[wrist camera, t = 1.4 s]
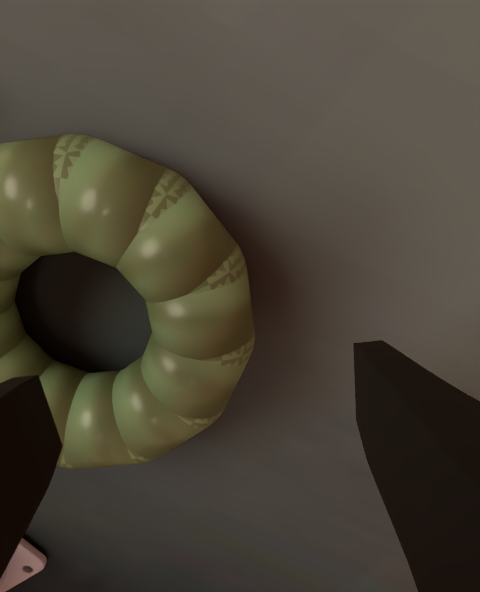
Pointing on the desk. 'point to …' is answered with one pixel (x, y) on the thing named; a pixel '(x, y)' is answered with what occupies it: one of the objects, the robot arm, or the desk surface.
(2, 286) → the ring
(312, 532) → the desk surface
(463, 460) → the robot arm
